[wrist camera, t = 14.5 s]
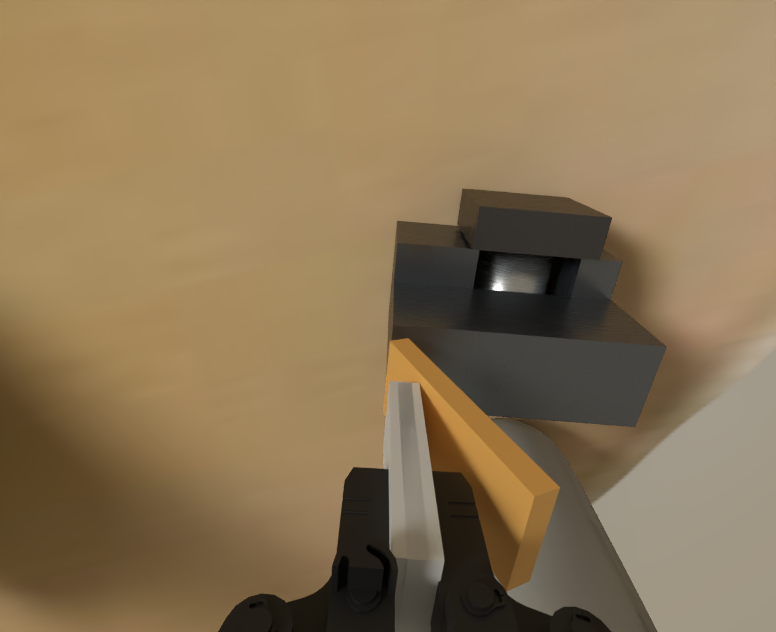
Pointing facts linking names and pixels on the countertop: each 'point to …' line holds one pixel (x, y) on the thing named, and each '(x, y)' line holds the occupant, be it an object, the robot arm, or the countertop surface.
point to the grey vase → (574, 548)
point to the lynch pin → (527, 236)
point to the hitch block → (522, 332)
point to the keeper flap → (481, 465)
